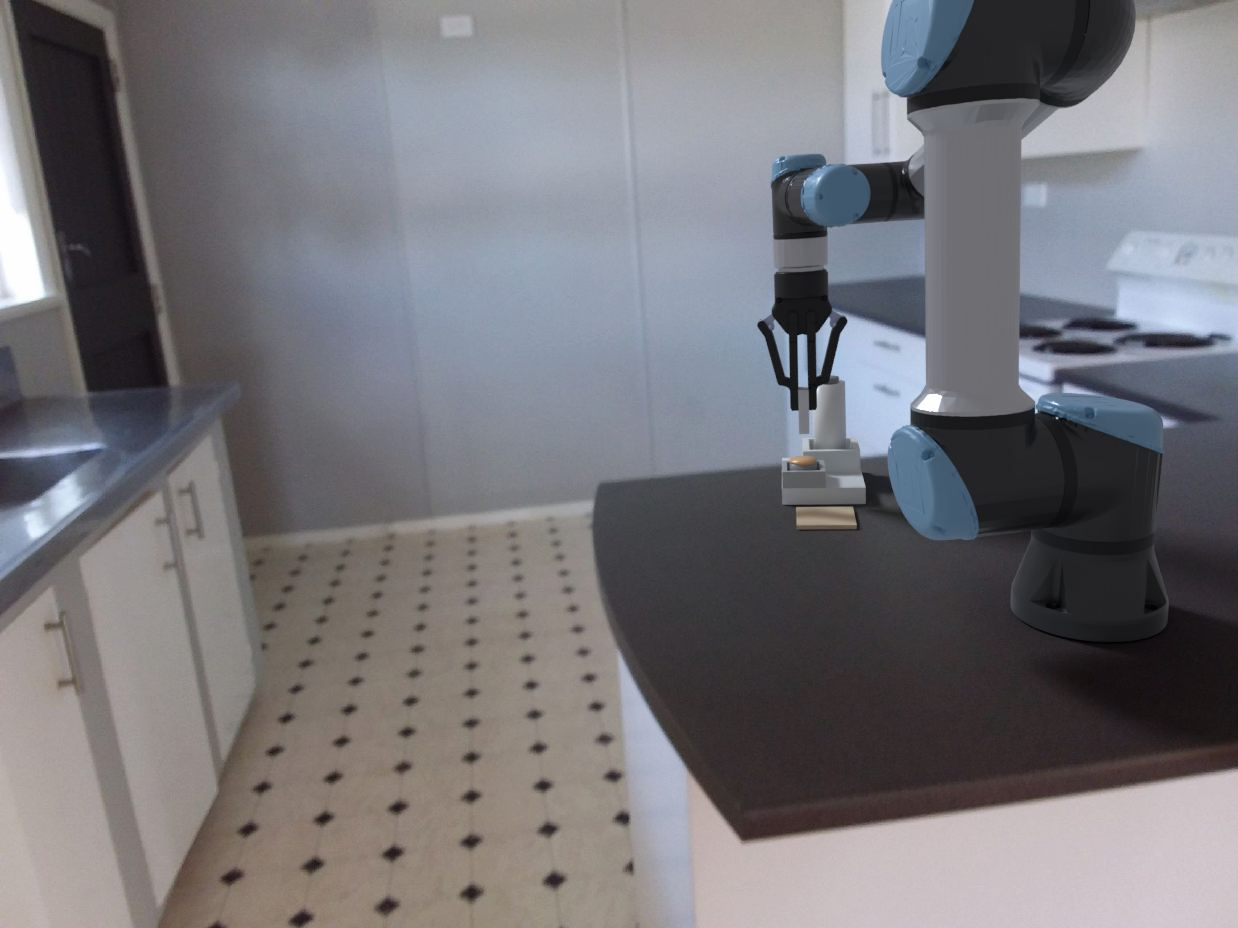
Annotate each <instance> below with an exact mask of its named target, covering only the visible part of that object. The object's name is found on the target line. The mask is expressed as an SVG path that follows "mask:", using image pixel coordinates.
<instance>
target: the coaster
mask: <svg viewBox="0 0 1238 928" xmlns="http://www.w3.org/2000/svg"><path fill="white" fill-rule="evenodd" d="M795 518H796V519H795V520H796V521H795V522H796V530H804V531H805V530H857V529H858V524H857V520H856V515H855V511H854V506H796V507H795Z"/></svg>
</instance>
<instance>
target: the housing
mask: <svg viewBox="0 0 1238 928" xmlns="http://www.w3.org/2000/svg"><path fill="white" fill-rule="evenodd" d="M801 444H802V445H801V446H802V449H801V451H802V452H801V453H802V454H801V456H812V457H815V458H817V470H799V471H790V458H791V457H782V458H781V504H782V506H787V505H790V506H793V505H794V506H795V505H796V506H797V505H800V506H801V505H803V506H804V505H805V506H806V505H811V506H812V505H866V504H867V503H866V502H867V497H866V495H867V491H866V489H867V488H866V487H867V486H866V484H865V481H864V476H863V472H862V467H861V448H860V445H859V442H858V437H857V436H846V449H821V450H814V442H813V437H802V438H801Z"/></svg>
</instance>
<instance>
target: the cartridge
mask: <svg viewBox="0 0 1238 928" xmlns="http://www.w3.org/2000/svg"><path fill="white" fill-rule="evenodd" d="M846 404H847V403H846V381H845V380H842V379H840V376H839V375H832V374H831V376H830V380H829V382H828V383H827V384H823V385H821V386H819V387H818V388H817V408H816V410H812V433H813V434H812V436H813V437H812V438H813V442H814V450H821V449H846V437H847V415H846V414H847V413H846Z"/></svg>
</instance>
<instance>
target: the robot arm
mask: <svg viewBox="0 0 1238 928" xmlns="http://www.w3.org/2000/svg"><path fill="white" fill-rule="evenodd" d="M1135 5H1136V4H1135V0H892V1H891V3H890V5H889V8H888V10H887V11H888V12H887V15H886V19H885V23H884V28H883V32H882V37H881V38H882V39H881V46H880V47H881V50H880V65H881V66H880V67H881V74H882V76H883V78H885V80H884V83H885V86H886V88H887V89H888V91H890V93H892V94H894V95H896V96H898V97H899V98H902V99H903V98H906V120H907V121H908V122H909V123H910V124H911V125H912V126H914V127H915V128H916V129H917V130H918V131H919V132H920V133H921V135H922V136H923V144H922V145H921V146H920V147H919V148H918V149H917V151H915V152H914V153H913V154H912V155H911V156H910V157H909V158H908V159H906V160H902V161H901V160H900V161H887V162H886V161H885V162H874V163H856V164H854V163H853V164H845V163H836V164H835V163H833V164H832V163H829V164H827V159H826V157H825V156H824V155H823V154H821V153H806V154H804V153H803V154H791V155H783V156H782V155H781V156H778V157H775V158H774V160H773V161H772V165H771V180H770V188H771V201H772V202H771V207H772V208H771V209H772V210H771V211H772V212H771V213H772V234H773V235H772V237H773V240H772V241H773V242H772V244H773V245H772V250H773V253H772V254H773V267H774V268H775V269H777V271H776V272H775V273H774V274H773V282H774V283H773V284H774V286H773V287H774V289H773V291H774V303H773V306H772V307H771V312H770V314H768V315H767V316H765V317H764V318H762V319H761V318H760V319H759V320H758V321H757V325H756V326H757V329H758V330H759V331H760V333H761V334H762V335H763V337H764V339H765V343H766V346H767V350H768V353H769V357H770V361H771V364H772V369H773V371H774V376H775V380H776V383H777V384H778V386H783V387H786V388H787V389H788V390H789V402H790V404H789V405H790V410H791V412H795V411H796V412H798V434H799V435H810V411H813V410H816V408H817V388H818V387H819V386H821V385H823V384H827V383H828V382H829V380H830V376H831V375H832V370H833V367H834V362H835V358H836V354H837V351H838V346H839V341H840V336H841V333H842V332H843V330H844V329H845V327H846V326H847V324H848V319H847V317H846V316H845V315H844V314H843V315H842V314H840V313H837V311H834V310H833V305H832V304H831V303H830V300H829V271H827V269H826V268H825V267H824V266H827V265H828V264H829V263H828V262H829V247H828V246H829V245H828V244H829V242H828V240H829V239H828V233H829V231H828V228H834V227H838V228H840V227H845V226H847V225H862V224H872V223H882V222H883V223H884V222H887V223H888V222H902V221H903V222H905V221H917V220H921V221H922V220H924V296H925V297H924V298H925V300H924V305H925V308H924V309H925V311H924V314H925V315H924V317H925V320H924V321H925V322H924V323H925V329H924V330H925V385H926V387H925V389H924V391H923V392H922V393H921V392H920V393H921V394H920V393H919V395H918V396H917V397H916V398H914V400H913V401H912V402H910V405H909V409H910V410H909V411H910V414H909V415H910V417H909V418H910V420H909V421H910V422H909V423H910V424H906V425H903V426H902V427H900V428H898V429H896V430H895V431H894V432H893V433H892V435H891V438H890V443H889V444H888V448H887V467H888V468H887V469H888V474H889V475H888V476H889V481H890V484H891V488H892V491H893V494H894V497H895V500H896V502H897V505H898V507H899V508H900V510H901V512H902V514H903V516H904V518H905V519H906V520H907V522H908V524H910V526H911V527H913V529H914V530H915V531H916V532H917V533H919V534H920V535H921V536H923V537H925V538H927V539H929V540H933V541H949V540H950V541H952V540H964V541H972V540H975V539H976V538H981V537H982V538H983V537H990V536H996V535H1006V534H1012V533H1021V532H1026V531H1027V532H1028V531H1031V533H1030V540H1029V543H1028V545H1027V548H1026V550H1025V552H1024V555H1023V557H1022V560H1021V561H1020V564H1019V566H1018V569H1017V571H1016V574H1015V575H1014V578H1013V581H1012V583H1011V588H1010V604H1009V605H1010V609H1011V612H1012V613H1013V614H1014V615H1015V616H1016V617H1017V618H1018V620H1021V621H1022V622H1024V623H1026V625H1029V626H1031V627H1032V628H1035V629H1038V630H1040V631H1042V632H1045V633H1048V634H1052V635H1055V636H1060V637H1064V638H1067V639H1071V640H1072V639H1074V640H1078V641H1079V640H1080V641H1087V642H1098V643H1099V642H1100V643H1101V642H1102V643H1121V642H1124V643H1125V642H1133V641H1139V640H1144V639H1147V638H1150V637H1153V636H1155V635H1157V634H1159V633H1161V632H1162V631H1163V630H1164V629H1165V628H1166V627H1167V624H1168V618H1169V606H1170V605H1169V603H1170V602H1169V597H1168V594H1167V590H1166V587H1165V586H1166V585H1165V584H1164V580H1163V576H1162V573H1161V570H1160V566H1159V563H1158V559H1157V555H1156V551H1155V541H1156V530H1157V529H1156V528H1157V519H1158V517H1157V516H1158V504H1159V492H1160V484H1161V476H1162V475H1161V474H1162V463H1163V456H1164V455H1165V450H1166V449H1165V448H1164V421H1163V418H1162V416H1161V415H1160V413H1159V412H1158V411H1156V409H1154V408H1153V407H1150V406H1148V405H1145V404H1143V403H1139V402H1136V401H1131V400H1127V399H1122V398H1115V397H1111V396H1104V395H1096V394H1089V393H1088V394H1087V393H1078V392H1077V393H1074V392H1049V393H1046V394H1042V395H1041V396H1039V398H1038V400H1037V401H1038V402H1037V404H1036V401H1035V399H1034V398H1032V397H1031V396H1030V395H1029V394H1028V393H1027V392H1025V390H1024V389H1022V388H1021V385H1020V384H1019V383H1020V382H1019V380H1020V314H1021V313H1020V311H1021V310H1020V305H1021V302H1020V300H1021V299H1020V297H1021V295H1020V294H1021V288H1020V286H1021V225H1022V224H1021V219H1022V218H1021V215H1022V214H1021V212H1022V211H1021V209H1022V208H1021V206H1022V204H1021V203H1022V201H1021V200H1022V140H1023V139H1024V138H1026V137H1027V136H1028V135H1029V134H1031V132H1033V131H1034V130H1036V129H1037V127H1039V126H1040V125H1041V124H1042V123H1043V122H1045V121H1046V120H1047V119H1048V118H1049V117H1051V116H1052V115H1053V114H1054V113H1056V111H1058V110H1059V109H1067V108H1072V107H1075V106H1077V105H1079V104H1081V103H1082V102H1084V101H1085V100H1087V99H1088V98H1089V97H1090V96H1091V95H1092V94H1094V93H1095V92H1096V91H1098V90H1099V89H1100V88H1102V86H1103V85H1104V84H1105V83H1106V82H1107V81H1109V79H1110V78H1112V77H1113V75H1114V74H1115V72H1116V71H1117V70H1118V68H1119V67H1120V66H1121V65H1122V63H1123V61H1124V59H1125V57H1126V56H1127V53H1128V51H1129V50H1130V47H1131V46H1132V41H1133V38H1134V36H1135V31H1136V30H1135V29H1136V19H1137V14H1136V13H1137V12H1136V6H1135ZM828 319H830V320H829V327H830V328H831V329H830V333H829V337H828V341H827V346H826V350H825V353H824V354H825V356H824V360H823V363H822V367H821V373H820V374H819V375H817V333H819V332H820V330H821V329H822V328H823V326H824V324H825V323H826V321H827V320H828ZM774 321H776V323H777V324H778V325H779V326H780V328H781V329H782V330H783V331H784V333H785V334H787V335H788V350H789V352H788V354H789V356H788V359H789V361H788V362H789V364H788V365H789V377H788V376H786V374H785V371H784V367H783V364H782V363H783V362H782V360H781V356H780V353H779V349H778V346H777V342H776V341H777V340H776V338H775V334H774V330H775V322H774ZM801 335H805V336H806V352H807V353H806V356H807V357H806V358H807V386H799V350H798V345H799V344H798V340H799V339H798V336H801ZM1036 410H1037V412H1036Z"/></svg>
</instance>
